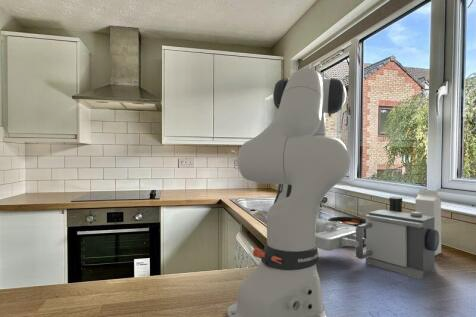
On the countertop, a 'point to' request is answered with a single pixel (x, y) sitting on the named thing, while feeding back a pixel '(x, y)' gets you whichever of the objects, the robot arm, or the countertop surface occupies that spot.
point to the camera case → (411, 242)
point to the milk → (430, 209)
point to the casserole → (350, 221)
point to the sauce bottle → (395, 204)
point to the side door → (383, 242)
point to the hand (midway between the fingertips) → (362, 243)
